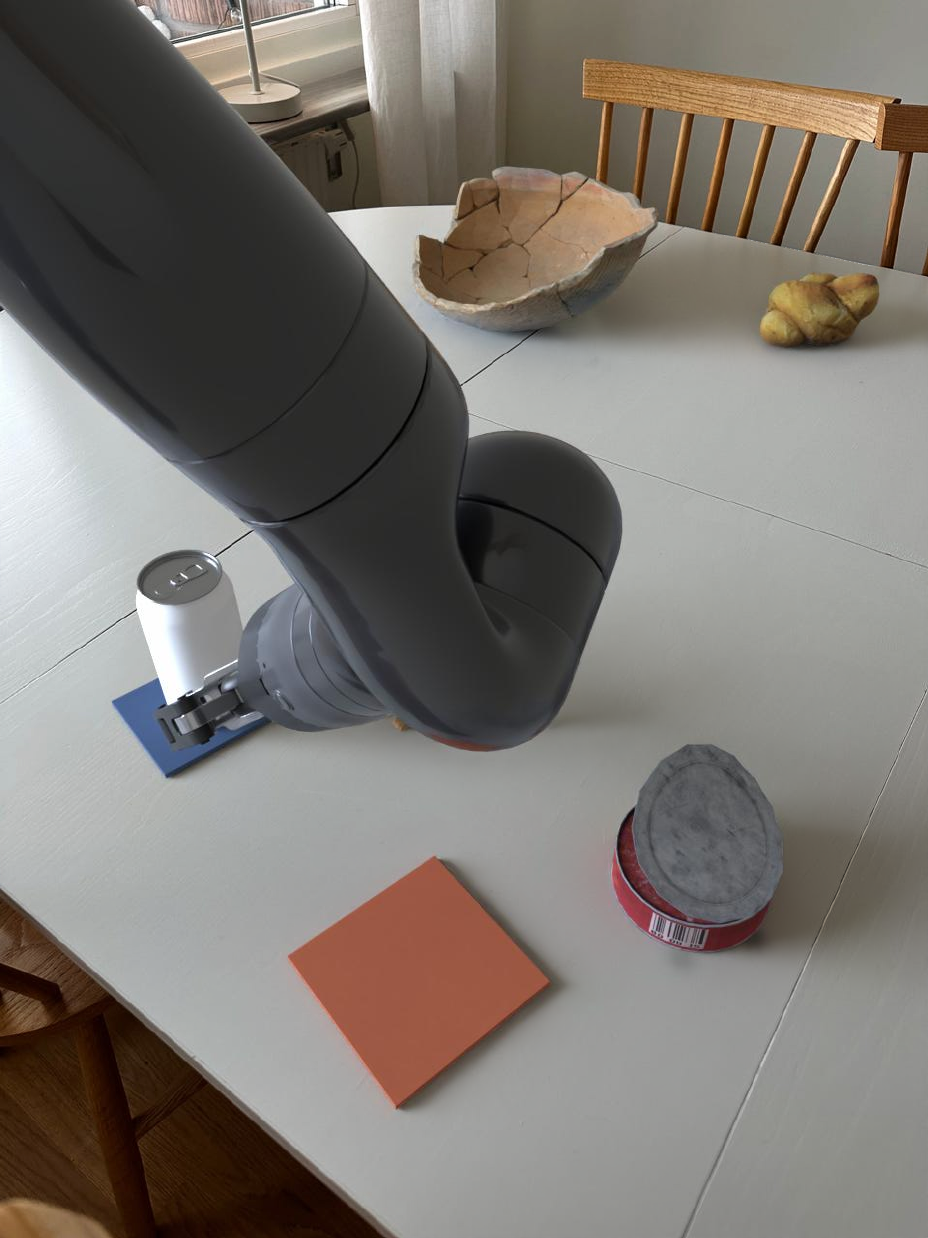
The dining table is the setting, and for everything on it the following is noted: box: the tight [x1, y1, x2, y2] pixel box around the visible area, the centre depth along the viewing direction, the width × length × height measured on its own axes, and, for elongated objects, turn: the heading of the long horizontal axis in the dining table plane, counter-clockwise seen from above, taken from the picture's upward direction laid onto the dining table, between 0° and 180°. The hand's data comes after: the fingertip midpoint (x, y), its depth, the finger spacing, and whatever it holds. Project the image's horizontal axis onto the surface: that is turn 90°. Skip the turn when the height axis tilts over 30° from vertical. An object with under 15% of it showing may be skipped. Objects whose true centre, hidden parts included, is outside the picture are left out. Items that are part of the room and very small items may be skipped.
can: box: [135, 549, 244, 718], centre depth 69 cm, size 6×6×12 cm
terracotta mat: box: [286, 855, 551, 1110], centre depth 57 cm, size 11×11×1 cm
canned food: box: [610, 743, 784, 953], centre depth 60 cm, size 11×10×10 cm
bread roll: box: [758, 271, 880, 349], centre depth 113 cm, size 13×10×8 cm
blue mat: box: [111, 677, 272, 779], centre depth 73 cm, size 12×9×1 cm
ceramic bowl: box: [411, 166, 660, 333], centre depth 118 cm, size 30×27×15 cm
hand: (253, 681), depth 61 cm, fingers open, 8 cm apart
